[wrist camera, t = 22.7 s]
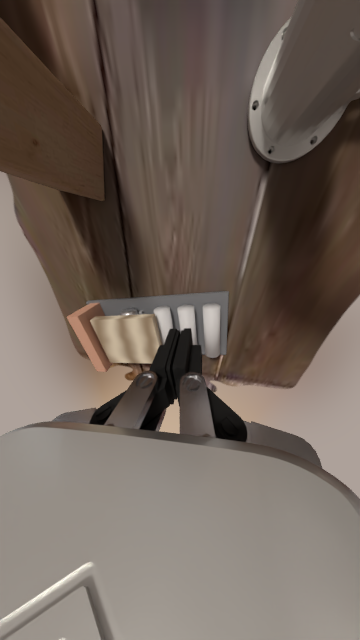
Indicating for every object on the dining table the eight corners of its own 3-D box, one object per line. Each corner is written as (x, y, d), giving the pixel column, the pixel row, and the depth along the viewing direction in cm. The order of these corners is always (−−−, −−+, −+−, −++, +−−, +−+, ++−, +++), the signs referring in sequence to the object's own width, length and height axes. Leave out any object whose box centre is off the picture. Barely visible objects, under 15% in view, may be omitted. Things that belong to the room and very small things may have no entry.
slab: (154, 313, 34) (152, 317, 32) (165, 358, 41) (163, 363, 39) (95, 316, 37) (89, 320, 35) (113, 357, 44) (110, 362, 42)
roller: (138, 306, 39) (133, 313, 35) (150, 347, 46) (146, 356, 42) (124, 308, 39) (117, 314, 36) (137, 348, 46) (133, 357, 43)
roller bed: (228, 291, 34) (234, 306, 26) (225, 352, 43) (230, 377, 36) (88, 300, 41) (61, 315, 33) (111, 352, 50) (95, 372, 43)
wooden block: (106, 202, 29) (-39, 151, 12) (58, 190, 29) (-155, 121, 12) (103, 126, 24) (-163, -165, 7) (45, 111, 24) (-365, -211, 7)
